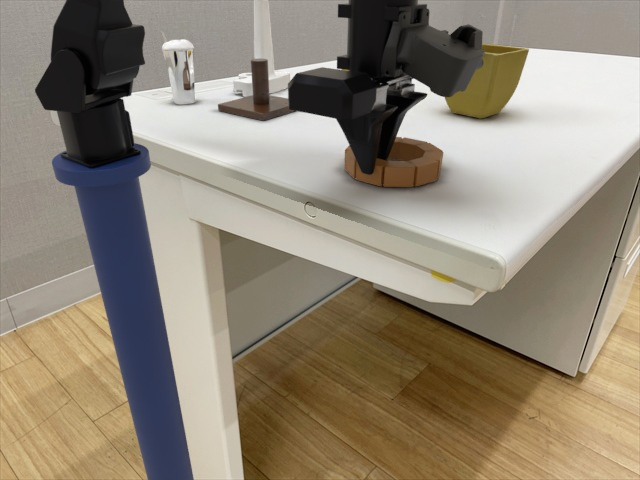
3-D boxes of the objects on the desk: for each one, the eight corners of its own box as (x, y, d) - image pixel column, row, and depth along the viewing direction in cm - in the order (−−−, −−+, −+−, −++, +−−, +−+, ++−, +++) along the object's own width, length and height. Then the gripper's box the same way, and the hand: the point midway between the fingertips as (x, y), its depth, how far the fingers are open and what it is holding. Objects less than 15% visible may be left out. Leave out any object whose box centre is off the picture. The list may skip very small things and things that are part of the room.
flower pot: (464, 103, 77) (473, 41, 73) (518, 113, 72) (530, 47, 68) (432, 113, 72) (439, 47, 68) (487, 125, 67) (499, 54, 62)
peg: (263, 121, 68) (261, 67, 65) (218, 111, 73) (213, 60, 70) (304, 108, 75) (304, 58, 71) (260, 99, 79) (257, 53, 76)
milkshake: (182, 96, 81) (174, 30, 76) (205, 101, 78) (198, 32, 73) (159, 102, 78) (149, 32, 73) (183, 107, 75) (173, 35, 70)
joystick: (253, 98, 80) (244, -46, 71) (219, 92, 84) (207, -45, 74) (295, 86, 88) (293, -44, 79) (263, 81, 92) (257, -44, 82)
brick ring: (414, 195, 46) (416, 175, 45) (326, 171, 51) (326, 153, 50) (456, 166, 52) (459, 148, 51) (375, 148, 58) (376, 131, 57)
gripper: (420, -2, 30) (399, 228, 38) (519, -10, 43) (489, 161, 51) (280, -7, 36) (286, 193, 43) (404, -13, 49) (393, 141, 57)
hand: (373, 170), depth 48 cm, fingers closed on brick ring, 2 cm apart
